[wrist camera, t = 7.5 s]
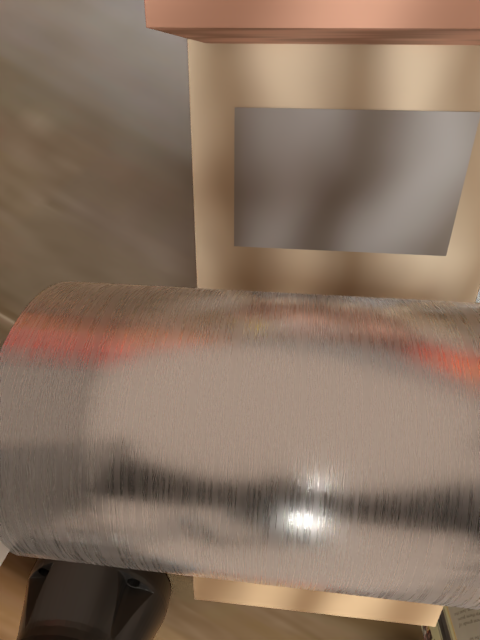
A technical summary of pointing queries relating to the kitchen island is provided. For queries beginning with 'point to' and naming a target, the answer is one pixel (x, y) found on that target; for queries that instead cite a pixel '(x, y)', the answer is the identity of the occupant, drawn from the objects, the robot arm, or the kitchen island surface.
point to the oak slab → (316, 601)
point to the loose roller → (247, 438)
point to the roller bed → (334, 144)
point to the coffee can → (455, 625)
